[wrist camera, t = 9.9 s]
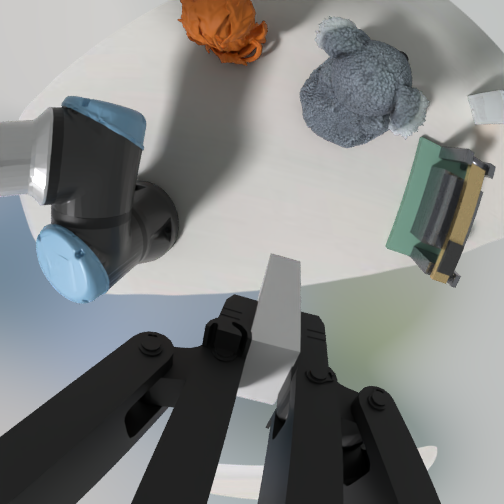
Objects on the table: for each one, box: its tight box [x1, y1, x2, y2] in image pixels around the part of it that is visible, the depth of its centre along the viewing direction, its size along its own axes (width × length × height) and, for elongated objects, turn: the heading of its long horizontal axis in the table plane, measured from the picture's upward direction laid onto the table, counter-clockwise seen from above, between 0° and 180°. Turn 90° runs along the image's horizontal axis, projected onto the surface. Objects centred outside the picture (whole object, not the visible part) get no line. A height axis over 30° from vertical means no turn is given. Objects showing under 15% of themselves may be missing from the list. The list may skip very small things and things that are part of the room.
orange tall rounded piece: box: [178, 0, 268, 66], centre depth 28 cm, size 11×11×18 cm
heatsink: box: [410, 147, 495, 287], centre depth 36 cm, size 20×8×10 cm, turn 167°
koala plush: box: [300, 16, 430, 148], centre depth 28 cm, size 17×18×20 cm
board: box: [386, 137, 466, 256], centre depth 40 cm, size 20×14×1 cm
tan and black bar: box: [430, 156, 488, 284], centre depth 32 cm, size 20×3×2 cm, turn 167°
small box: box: [468, 90, 504, 125], centre depth 27 cm, size 8×6×10 cm
